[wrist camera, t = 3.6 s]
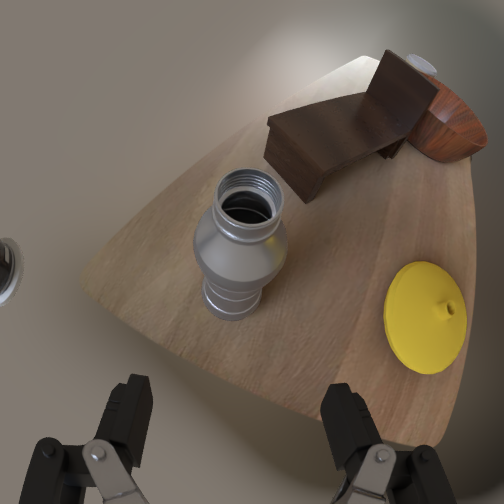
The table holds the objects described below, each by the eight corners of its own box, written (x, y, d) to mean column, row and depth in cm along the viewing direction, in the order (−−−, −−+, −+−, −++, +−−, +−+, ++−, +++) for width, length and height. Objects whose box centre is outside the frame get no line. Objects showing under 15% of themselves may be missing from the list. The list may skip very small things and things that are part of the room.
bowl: (462, 198, 45) (495, 167, 35) (367, 131, 48) (391, 88, 38) (459, 140, 55) (480, 113, 45) (385, 89, 58) (401, 57, 48)
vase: (354, 342, 31) (385, 333, 25) (396, 248, 38) (423, 226, 31) (432, 392, 29) (466, 390, 23) (461, 302, 35) (491, 289, 29)
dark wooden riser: (306, 207, 38) (356, 107, 22) (260, 155, 41) (282, 53, 25) (394, 157, 46) (440, 89, 30) (354, 120, 49) (389, 49, 32)
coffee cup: (389, 88, 59) (406, 56, 48) (394, 79, 62) (409, 50, 51) (418, 107, 57) (437, 76, 47) (420, 96, 61) (438, 68, 50)
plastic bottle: (257, 269, 34) (303, 151, 16) (259, 325, 31) (320, 258, 13) (203, 268, 33) (191, 144, 15) (202, 324, 30) (178, 255, 12)
